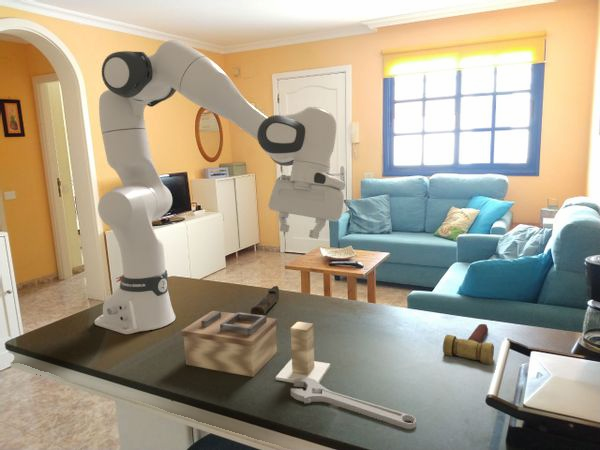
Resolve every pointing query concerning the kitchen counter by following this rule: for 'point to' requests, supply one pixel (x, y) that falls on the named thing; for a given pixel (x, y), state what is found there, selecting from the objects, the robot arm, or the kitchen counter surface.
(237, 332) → the brown rectangular box
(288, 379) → the white mat
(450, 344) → the gavel
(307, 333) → the oak block
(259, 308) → the hand tool
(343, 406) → the adjustable wrench
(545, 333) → the kitchen counter surface
